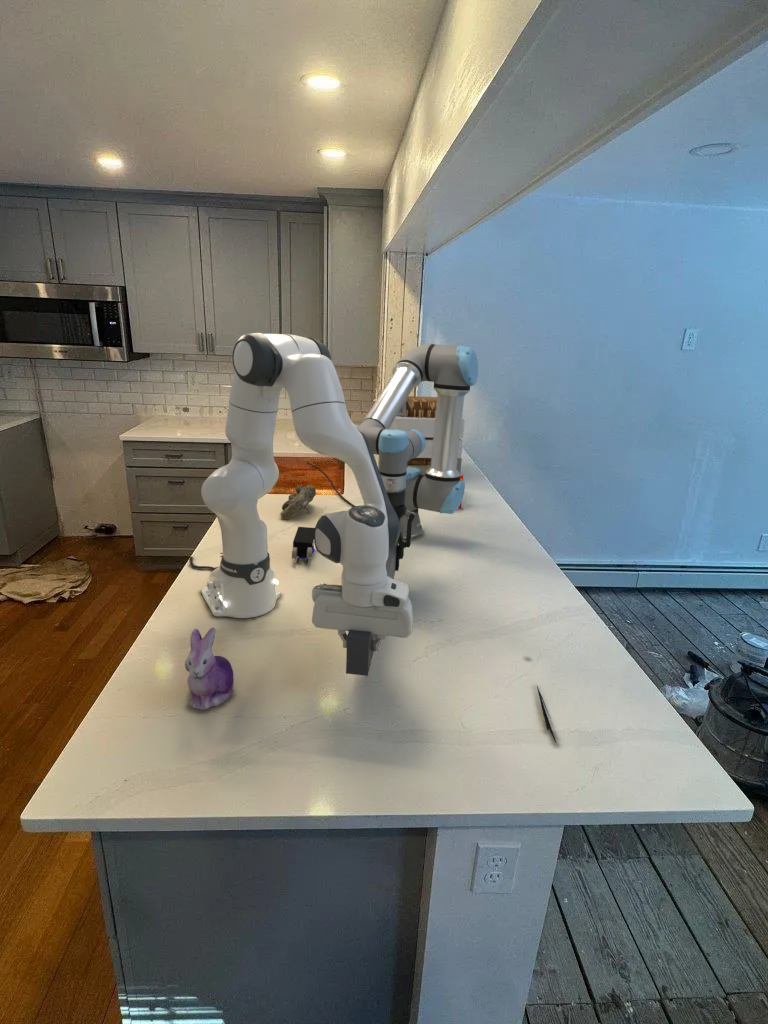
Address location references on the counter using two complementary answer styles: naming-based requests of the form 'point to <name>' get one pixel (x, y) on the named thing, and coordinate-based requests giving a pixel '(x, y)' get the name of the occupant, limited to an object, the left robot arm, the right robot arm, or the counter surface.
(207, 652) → the figurine
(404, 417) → the white slatted crate
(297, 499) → the fossil
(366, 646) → the beam
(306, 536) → the figurine character
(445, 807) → the counter surface
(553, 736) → the feather
